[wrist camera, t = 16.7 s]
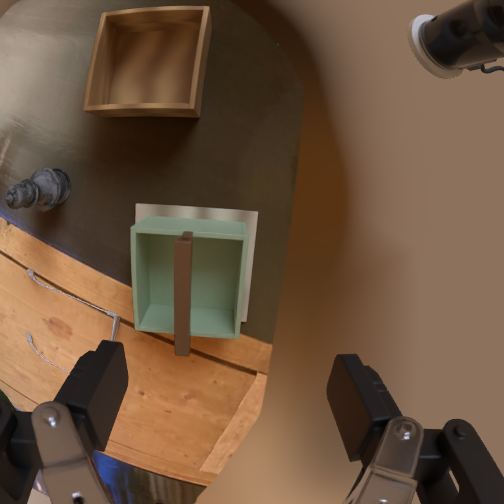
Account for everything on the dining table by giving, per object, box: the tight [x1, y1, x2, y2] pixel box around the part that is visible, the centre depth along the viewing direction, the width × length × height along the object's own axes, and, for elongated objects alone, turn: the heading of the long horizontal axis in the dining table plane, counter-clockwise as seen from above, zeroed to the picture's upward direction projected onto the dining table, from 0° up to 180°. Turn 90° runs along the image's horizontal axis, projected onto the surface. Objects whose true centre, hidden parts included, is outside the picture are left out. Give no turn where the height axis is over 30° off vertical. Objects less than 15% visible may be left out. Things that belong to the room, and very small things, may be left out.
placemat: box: [135, 203, 258, 322], centre depth 41 cm, size 16×16×1 cm
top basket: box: [131, 216, 249, 357], centre depth 35 cm, size 13×13×11 cm
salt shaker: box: [5, 168, 71, 212], centre depth 30 cm, size 6×6×12 cm
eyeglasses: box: [26, 269, 120, 373], centre depth 40 cm, size 15×18×4 cm
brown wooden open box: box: [83, 6, 212, 118], centre depth 30 cm, size 13×13×7 cm
